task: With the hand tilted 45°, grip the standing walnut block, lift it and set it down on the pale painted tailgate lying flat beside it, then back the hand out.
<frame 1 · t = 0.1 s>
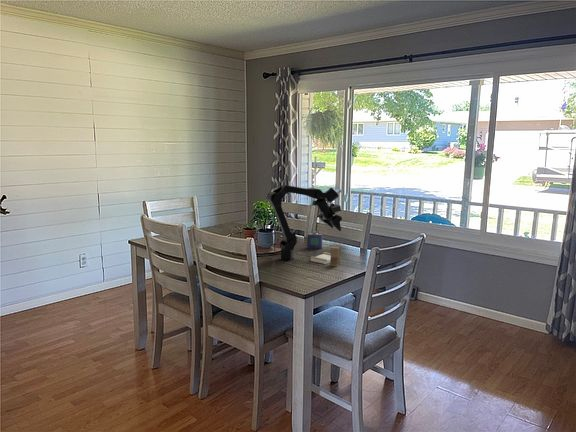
hand: (336, 229, 250), 15 cm above the table, tool tilted 35°, fingers open, 9 cm apart
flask: (314, 248, 265), on the table
walnut block: (335, 265, 230), on the table
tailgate: (324, 259, 240), on the table
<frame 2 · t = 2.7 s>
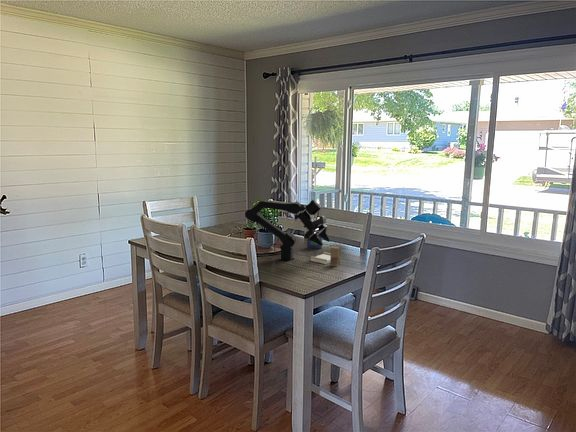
hand: (325, 243, 231), 11 cm above the table, tool tilted 45°, fingers open, 9 cm apart
nothing on the table moved.
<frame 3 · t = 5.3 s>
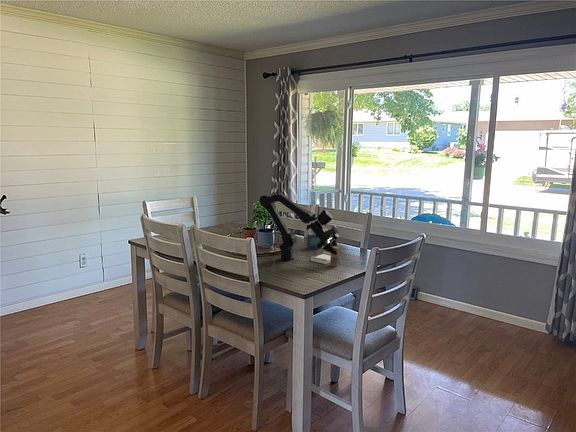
hand: (338, 253, 228), 7 cm above the table, tool tilted 45°, fingers closed on walnut block, 4 cm apart
walnut block: (335, 265, 230), on the table, touching gripper
everything else where it was.
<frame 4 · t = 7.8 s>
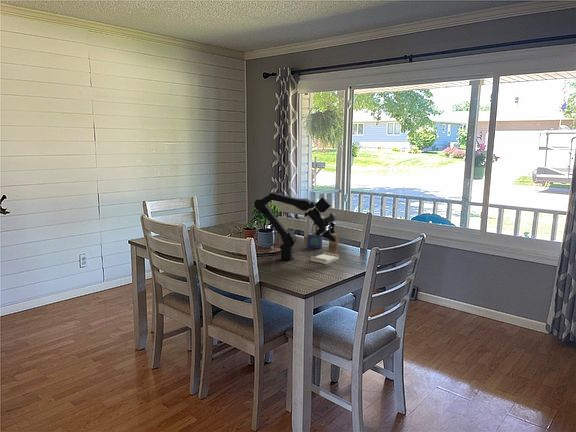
hand: (336, 240, 230), 13 cm above the table, tool tilted 45°, fingers closed on walnut block, 4 cm apart
walnut block: (333, 252, 232), point 6 cm above the table, touching gripper
everything else where it was.
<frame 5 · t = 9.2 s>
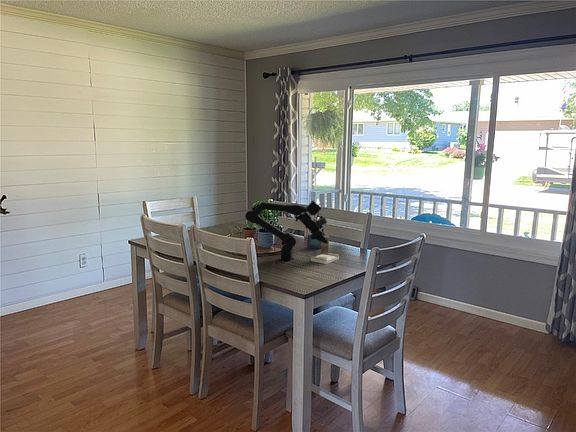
hand: (327, 242, 238), 10 cm above the table, tool tilted 45°, fingers closed on walnut block, 4 cm apart
walnut block: (324, 253, 240), point 4 cm above the table, touching gripper
everything else where it was.
when the fingers open (9 cm above the table, at t = 10.2 s): walnut block stays where it is, resting on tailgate.
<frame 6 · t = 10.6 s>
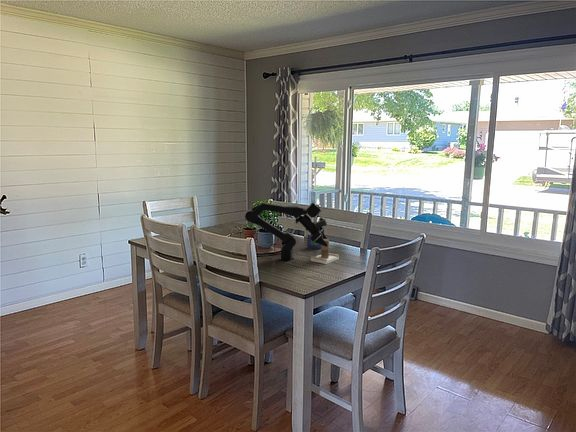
hand: (327, 244, 238), 9 cm above the table, tool tilted 45°, fingers open, 9 cm apart
walnut block: (324, 257, 240), point 1 cm above the table, touching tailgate
everything else where it was.
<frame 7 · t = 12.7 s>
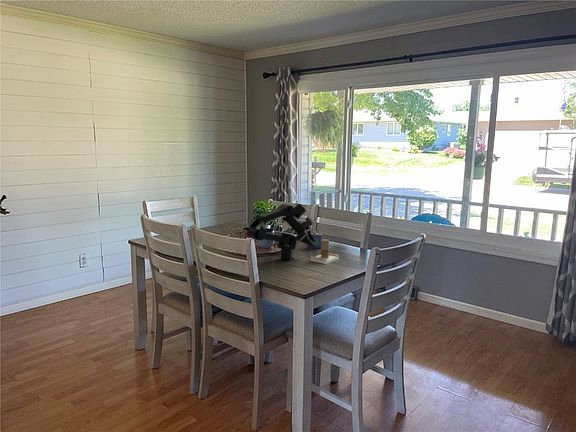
hand: (313, 243, 239), 9 cm above the table, tool tilted 45°, fingers open, 9 cm apart
nothing on the table moved.
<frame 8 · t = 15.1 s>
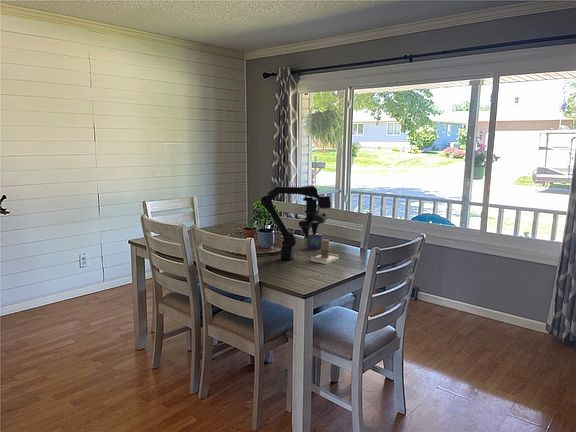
hand: (310, 236, 239), 13 cm above the table, tool pointing down, fingers open, 9 cm apart
nothing on the table moved.
at the end: walnut block 0.0 cm off-centre on the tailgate, point 1.5 cm above the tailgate's base; walnut block tilted 0°; the gripper is holding nothing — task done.
